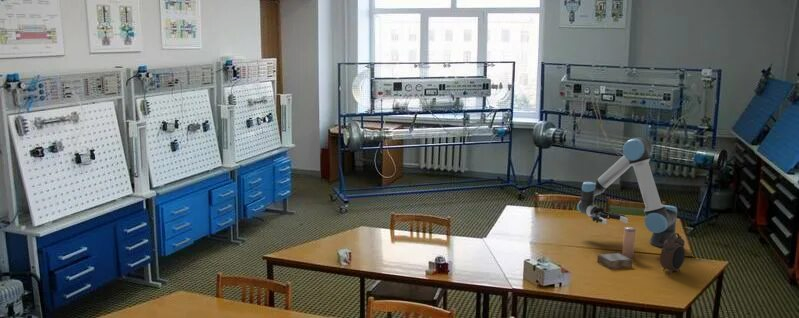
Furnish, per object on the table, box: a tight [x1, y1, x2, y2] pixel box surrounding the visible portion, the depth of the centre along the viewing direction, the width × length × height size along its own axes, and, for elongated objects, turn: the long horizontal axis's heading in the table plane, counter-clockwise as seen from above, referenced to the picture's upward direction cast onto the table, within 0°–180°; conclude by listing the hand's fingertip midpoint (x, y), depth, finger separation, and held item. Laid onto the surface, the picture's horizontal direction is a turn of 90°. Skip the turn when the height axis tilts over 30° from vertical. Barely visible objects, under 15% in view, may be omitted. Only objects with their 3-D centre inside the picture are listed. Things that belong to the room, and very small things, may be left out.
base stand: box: [596, 252, 633, 270], centre depth 375 cm, size 13×12×4 cm
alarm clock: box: [659, 232, 686, 275], centre depth 363 cm, size 15×7×20 cm, turn 129°
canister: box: [621, 226, 636, 259], centre depth 388 cm, size 6×6×16 cm
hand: (616, 221), depth 397 cm, fingers open, 13 cm apart
